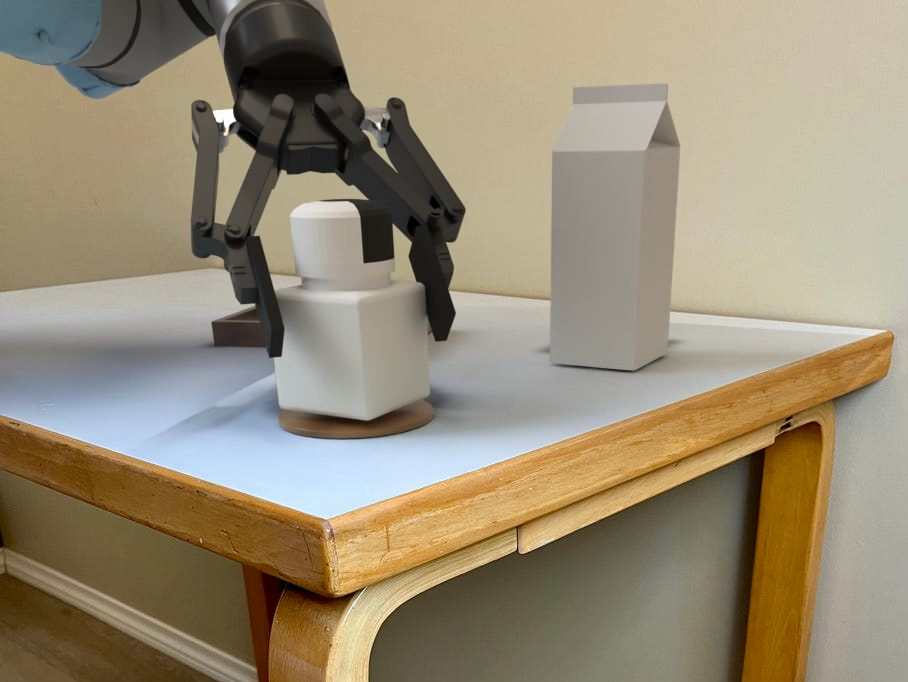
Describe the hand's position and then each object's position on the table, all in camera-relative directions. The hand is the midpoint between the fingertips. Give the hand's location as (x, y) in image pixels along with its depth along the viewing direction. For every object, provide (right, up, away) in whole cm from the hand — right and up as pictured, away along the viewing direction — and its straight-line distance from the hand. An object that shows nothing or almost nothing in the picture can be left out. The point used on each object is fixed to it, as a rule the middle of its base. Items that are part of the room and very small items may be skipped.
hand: (363, 335), depth 60 cm
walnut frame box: (-6, +8, +28) cm, 30 cm away
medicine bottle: (-1, -3, +5) cm, 6 cm away
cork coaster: (-1, -4, +5) cm, 6 cm away
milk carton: (+17, +4, +19) cm, 26 cm away
